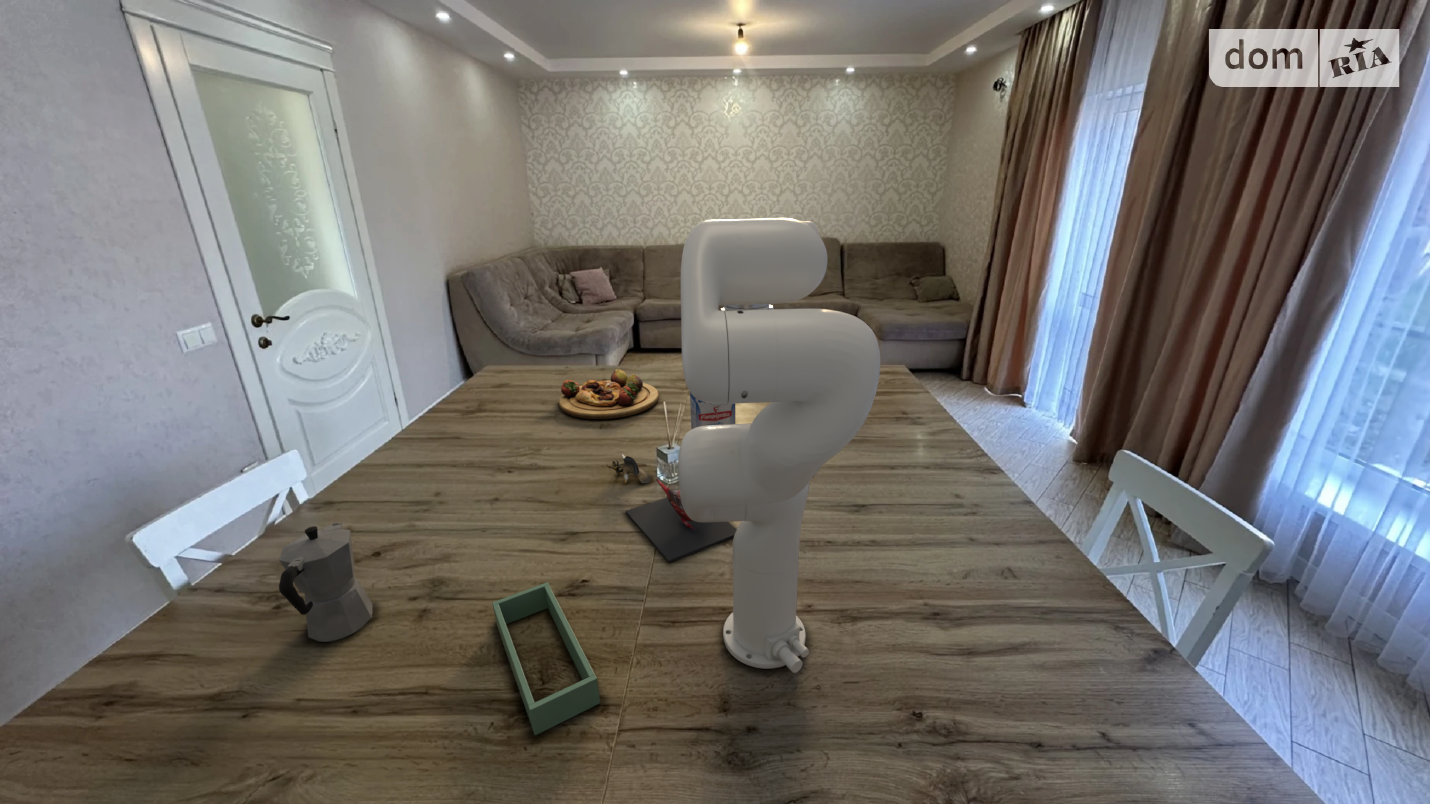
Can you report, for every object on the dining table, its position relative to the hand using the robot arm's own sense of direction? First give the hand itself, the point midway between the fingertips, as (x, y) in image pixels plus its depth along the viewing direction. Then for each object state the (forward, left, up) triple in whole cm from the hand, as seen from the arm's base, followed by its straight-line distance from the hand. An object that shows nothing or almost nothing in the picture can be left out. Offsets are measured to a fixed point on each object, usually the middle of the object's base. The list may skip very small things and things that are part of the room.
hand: (746, 395), depth 97 cm
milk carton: (+33, -13, -31) cm, 47 cm away
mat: (+12, +8, -30) cm, 34 cm away
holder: (-8, +42, -30) cm, 52 cm away
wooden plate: (+86, -6, -31) cm, 91 cm away
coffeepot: (+17, +68, -31) cm, 76 cm away
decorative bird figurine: (+12, +8, -30) cm, 33 cm away
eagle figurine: (+35, +9, -31) cm, 47 cm away
